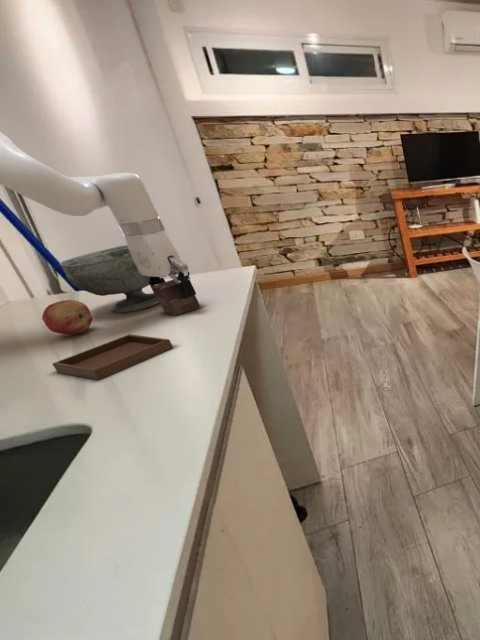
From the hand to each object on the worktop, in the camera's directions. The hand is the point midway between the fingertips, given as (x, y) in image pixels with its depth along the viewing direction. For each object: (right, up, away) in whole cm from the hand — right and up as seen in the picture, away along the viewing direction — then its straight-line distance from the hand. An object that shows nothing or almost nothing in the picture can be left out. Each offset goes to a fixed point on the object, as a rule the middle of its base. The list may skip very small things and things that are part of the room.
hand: (176, 295), depth 119 cm
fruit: (-16, -10, -8) cm, 21 cm away
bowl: (-17, -2, +7) cm, 19 cm away
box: (0, -4, +2) cm, 4 cm away
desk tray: (+8, -15, -23) cm, 28 cm away
